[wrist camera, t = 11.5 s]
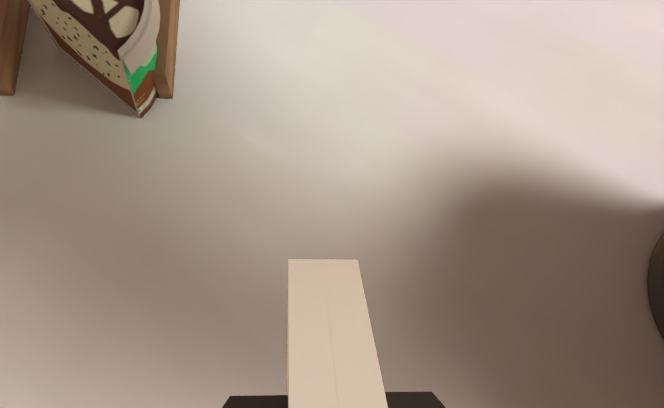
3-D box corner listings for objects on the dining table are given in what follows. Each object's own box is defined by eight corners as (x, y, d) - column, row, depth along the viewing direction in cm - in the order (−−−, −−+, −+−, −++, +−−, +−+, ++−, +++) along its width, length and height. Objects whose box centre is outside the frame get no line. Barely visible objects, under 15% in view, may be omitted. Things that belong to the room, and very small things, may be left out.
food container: (210, 79, 49) (195, -3, 40) (154, 130, 47) (124, 56, 38) (103, -9, 51) (64, -106, 42) (45, 37, 49) (-10, -56, 40)
